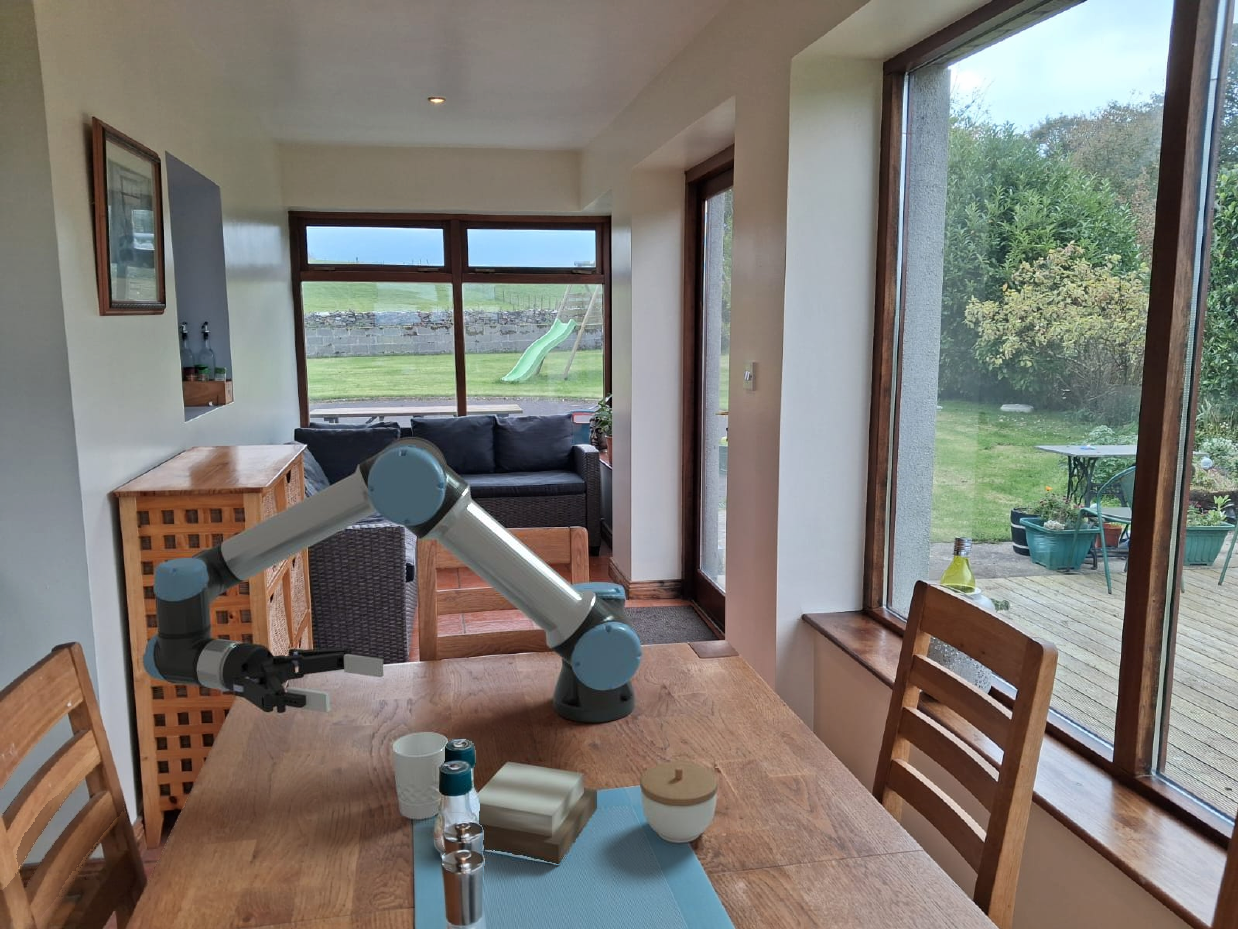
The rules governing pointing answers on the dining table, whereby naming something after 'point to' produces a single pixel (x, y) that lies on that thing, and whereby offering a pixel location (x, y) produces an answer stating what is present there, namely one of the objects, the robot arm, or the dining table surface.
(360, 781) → the dining table surface
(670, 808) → the lidded jar
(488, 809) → the block stand
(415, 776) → the white cup
